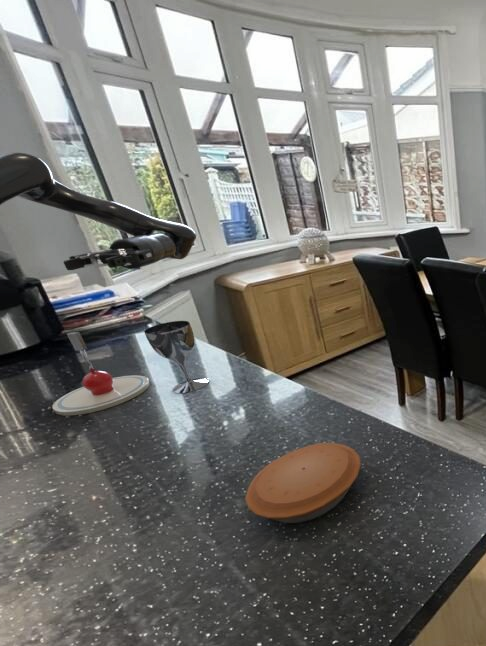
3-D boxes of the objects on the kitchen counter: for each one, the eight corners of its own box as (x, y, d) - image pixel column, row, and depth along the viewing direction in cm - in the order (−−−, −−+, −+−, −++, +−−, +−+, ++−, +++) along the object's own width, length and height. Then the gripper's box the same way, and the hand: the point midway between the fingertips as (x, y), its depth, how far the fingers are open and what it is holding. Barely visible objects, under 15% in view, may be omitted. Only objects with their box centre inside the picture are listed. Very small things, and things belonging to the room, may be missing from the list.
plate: (39, 424, 80) (36, 419, 80) (72, 389, 93) (70, 385, 93) (139, 402, 87) (137, 397, 87) (157, 372, 100) (155, 369, 100)
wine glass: (218, 381, 95) (196, 324, 89) (179, 397, 88) (153, 336, 82) (202, 374, 98) (180, 318, 92) (164, 389, 92) (137, 330, 86)
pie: (226, 531, 54) (214, 504, 52) (297, 457, 68) (289, 433, 66) (329, 542, 52) (321, 515, 50) (380, 463, 66) (375, 439, 64)
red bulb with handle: (106, 395, 88) (75, 336, 82) (82, 397, 87) (49, 338, 82) (122, 385, 92) (94, 328, 87) (99, 387, 92) (69, 329, 86)
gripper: (102, 238, 101) (43, 249, 87) (163, 235, 103) (115, 246, 88) (115, 267, 104) (60, 282, 90) (173, 263, 106) (129, 278, 91)
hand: (88, 264), depth 89 cm, fingers open, 8 cm apart
